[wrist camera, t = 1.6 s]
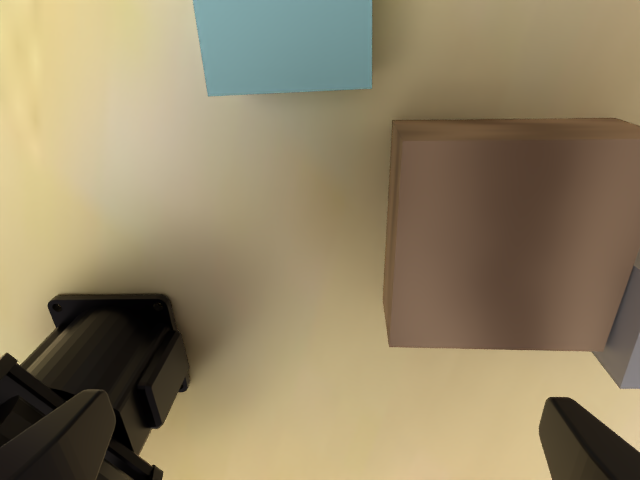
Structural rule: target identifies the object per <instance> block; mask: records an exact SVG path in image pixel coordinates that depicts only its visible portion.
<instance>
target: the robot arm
mask: <svg viewBox="0 0 640 480" xmlns="http://www.w3.org/2000/svg"><path fill="white" fill-rule="evenodd" d="M157 303H160V304H162V306H159V305H158V304H157ZM58 305H60V306H61V307H60V306H58ZM48 309H49V311H50V314H51V316H52V319H53V321H54V324H55V326H56V329H55V330H54V331H53V332H52V333H51V334H50V335H49V336H48V337H47V338H46V339H45V340H44V341H43V342H42V343H41V344H40V345H39V346H38V347H37V349H36V350H35V351H34V352H33V353H32V354H31V355H30V356H29V357H28V358H27V359H26V360H25V361H24V362H23V363H22V364H21V365H19V364H17V361H18V360H16V359H15V358H14V357H12V356H11V355H10V354H8V353H5V354H4V355H3V356H2V357H0V480H162V477H163V471H162V470H160V469H159V468H158V467H156V466H155V465H152V466H151V465H150V464H149V463H147V462H146V461H145V460H143V459H142V458H141V457H139V454H140V452H141V450H142V448H143V446H144V444H145V442H146V440H147V438H148V436H149V434H150V432H151V430H152V429H158V428H160V427H161V426H162V425H163V423H164V421H165V419H166V417H167V415H168V413H169V411H170V408H171V406H172V404H173V402H174V400H175V398H176V395H177V393H178V392H184V391H186V390H187V388H188V386H189V384H190V379H189V375H188V370H189V364H188V360H187V356H186V352H185V348H184V344H183V340H182V335H181V333H180V332H179V331H178V330H177V327H176V323H175V319H174V315H173V311H172V307H171V303H170V300H169V299H168V298H167V297H166V296H164V295H160V294H151V295H72V296H55V297H54V298H53V299H52V300H51V301H50V302H49V303H48ZM539 436H540V440H541V443H542V447H543V450H544V454H545V457H546V460H547V464H548V467H549V470H550V474H551V477H552V480H640V452H639V451H637V450H636V449H635V448H634V447H632V446H631V445H630V444H629V443H627V442H626V441H625V440H623V439H622V438H621V437H620V436H618V435H617V434H616V433H615V432H613V431H612V430H611V429H610V428H608V427H607V426H606V425H605V424H603V423H602V422H601V421H600V420H598V419H597V418H596V417H595V416H593V415H592V414H591V413H590V412H588V411H587V410H586V409H585V408H583V407H582V406H581V405H580V404H578V403H577V402H576V401H574V400H573V399H571V398H568V397H550V398H548V399H547V400H546V402H545V405H544V409H543V413H542V417H541V420H540V424H539Z"/></svg>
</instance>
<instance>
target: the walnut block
mask: <svg viewBox="0 0 640 480" xmlns="http://www.w3.org/2000/svg"><path fill="white" fill-rule="evenodd" d="M639 249H640V126H637V125H634V124H631V123H628V122H625V121H622V120H619V119H616V118H574V119H475V120H392V138H391V157H390V175H389V194H388V212H387V231H386V249H385V268H384V286H383V304H384V312H385V319H386V327H387V334H388V342H389V347H414V348H460V349H506V350H552V351H598V352H603V350H604V348H605V345H606V342H607V339H608V336H609V334H610V331H611V328H612V325H613V322H614V319H615V317H616V314H617V311H618V308H619V305H620V302H621V300H622V297H623V294H624V291H625V288H626V285H627V283H628V280H629V277H630V274H631V271H632V269H633V266H634V263H635V260H636V257H637V254H638V252H639Z"/></svg>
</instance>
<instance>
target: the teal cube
mask: <svg viewBox="0 0 640 480" xmlns="http://www.w3.org/2000/svg"><path fill="white" fill-rule="evenodd" d="M193 5H194V11H195V17H196V23H197V30H198V36H199V42H200V48H201V55H202V61H203V67H204V74H205V80H206V86H207V92H208V96H225V95H247V94H268V93H289V92H310V91H332V90H353V89H372V0H193Z"/></svg>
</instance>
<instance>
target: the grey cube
mask: <svg viewBox="0 0 640 480" xmlns="http://www.w3.org/2000/svg"><path fill="white" fill-rule="evenodd" d="M591 352H592V353H593V354H594V356H595V357H596V358H597V359H598V361H599V362H600V363H601V365H602V366H603V367H604V369H605V370H606V371H607V372H608V374H609V375H610V376H611V378H612V379H613V380H614V382H615V383H616V384H617V386H618V387H619V388H620V389H640V249H639V252H638V254H637V257H636V260H635V263H634V266H633V269H632V271H631V274H630V277H629V280H628V283H627V285H626V288H625V291H624V294H623V297H622V300H621V302H620V305H619V308H618V311H617V314H616V317H615V319H614V322H613V325H612V328H611V331H610V334H609V336H608V339H607V342H606V345H605V348H604V350H603V352H598V351H591Z"/></svg>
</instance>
